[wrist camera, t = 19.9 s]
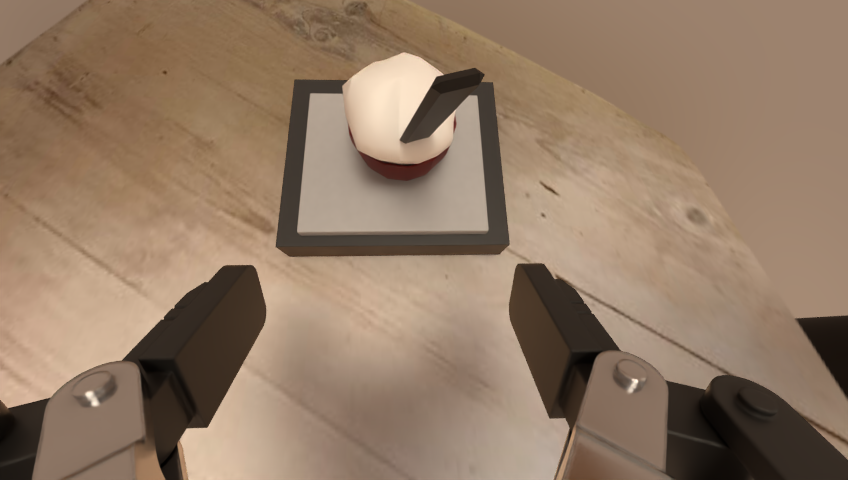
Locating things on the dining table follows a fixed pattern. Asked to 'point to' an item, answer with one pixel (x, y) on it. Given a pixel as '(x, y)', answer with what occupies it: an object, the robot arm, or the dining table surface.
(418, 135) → the cocoa
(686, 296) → the dining table surface
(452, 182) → the scale
